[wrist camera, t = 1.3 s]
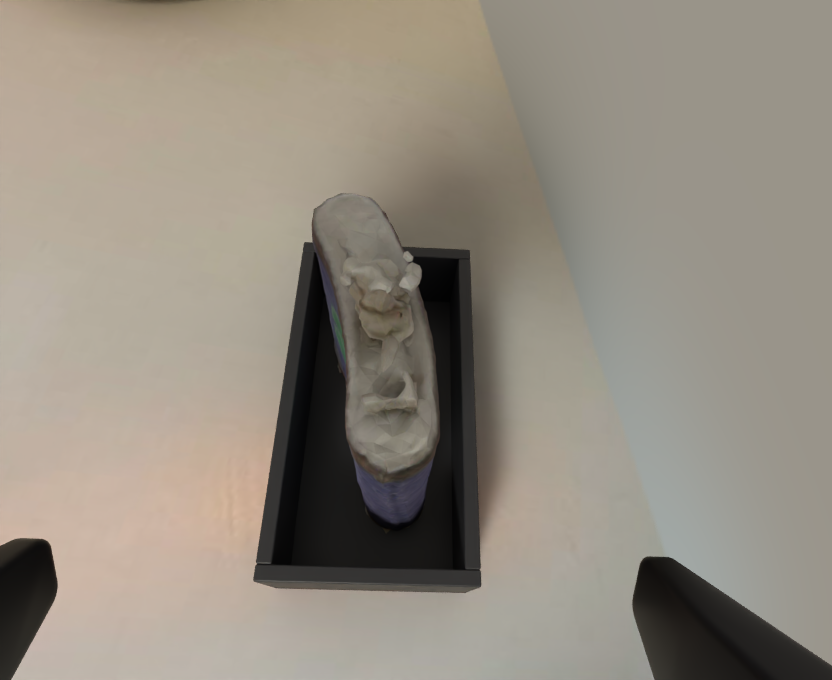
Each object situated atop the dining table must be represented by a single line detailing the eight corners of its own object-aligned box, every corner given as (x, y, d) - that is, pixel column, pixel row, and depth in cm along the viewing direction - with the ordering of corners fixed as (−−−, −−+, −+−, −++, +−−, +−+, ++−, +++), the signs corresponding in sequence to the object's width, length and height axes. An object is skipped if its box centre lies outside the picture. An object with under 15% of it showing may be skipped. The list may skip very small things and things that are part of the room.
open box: (465, 592, 20) (481, 587, 16) (275, 587, 19) (252, 581, 16) (459, 296, 26) (469, 249, 22) (314, 290, 25) (303, 241, 22)
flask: (330, 331, 24) (295, 146, 15) (392, 321, 25) (398, 134, 15) (366, 541, 20) (352, 471, 11) (441, 524, 20) (492, 441, 11)
